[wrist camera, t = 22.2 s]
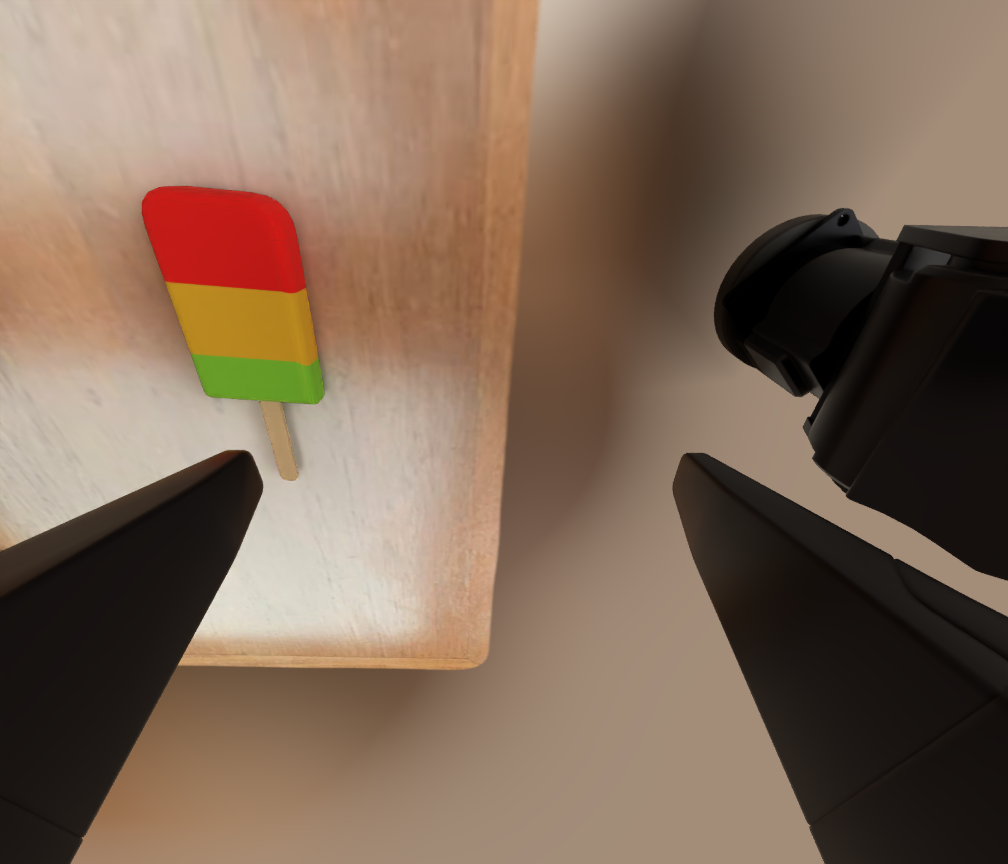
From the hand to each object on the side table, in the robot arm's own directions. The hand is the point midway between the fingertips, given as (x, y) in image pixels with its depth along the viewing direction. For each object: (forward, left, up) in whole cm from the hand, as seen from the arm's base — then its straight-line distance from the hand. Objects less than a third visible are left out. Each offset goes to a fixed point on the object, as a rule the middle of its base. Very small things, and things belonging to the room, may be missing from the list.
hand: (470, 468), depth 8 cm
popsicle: (+10, -6, -13) cm, 18 cm away
